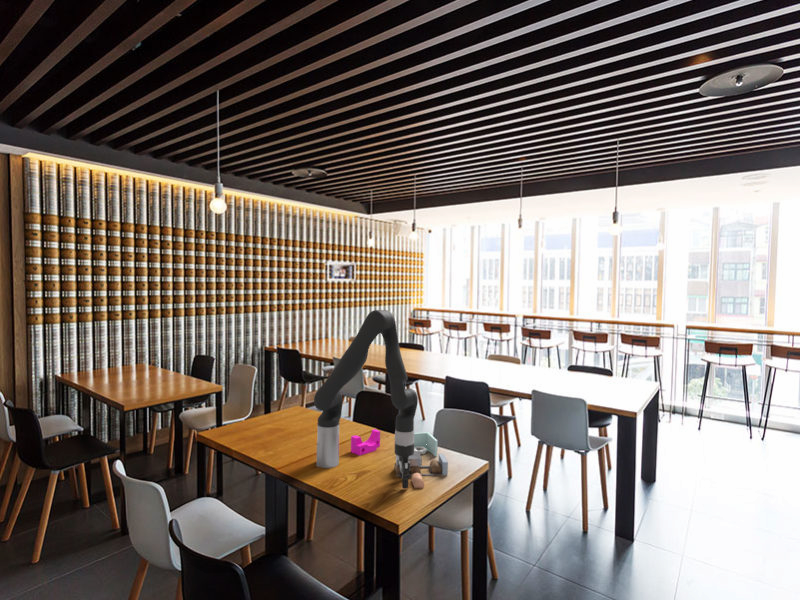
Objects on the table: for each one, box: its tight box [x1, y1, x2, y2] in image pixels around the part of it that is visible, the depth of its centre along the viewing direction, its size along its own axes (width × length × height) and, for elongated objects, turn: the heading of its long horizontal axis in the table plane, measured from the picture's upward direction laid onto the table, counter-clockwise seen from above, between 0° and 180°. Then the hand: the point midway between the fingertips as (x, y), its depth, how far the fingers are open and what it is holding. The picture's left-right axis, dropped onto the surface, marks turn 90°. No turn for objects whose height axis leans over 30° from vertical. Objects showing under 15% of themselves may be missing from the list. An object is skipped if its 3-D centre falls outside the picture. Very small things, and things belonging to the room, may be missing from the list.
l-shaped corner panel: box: [414, 431, 439, 457], centre depth 201 cm, size 12×12×8 cm
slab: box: [395, 453, 423, 467], centre depth 179 cm, size 10×6×3 cm, turn 96°
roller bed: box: [394, 459, 443, 477], centre depth 180 cm, size 19×8×4 cm, turn 96°
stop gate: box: [437, 453, 449, 476], centre depth 181 cm, size 2×9×6 cm, turn 6°
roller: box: [411, 473, 425, 489], centre depth 168 cm, size 4×6×4 cm, turn 6°
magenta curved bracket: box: [350, 428, 381, 456], centre depth 204 cm, size 15×6×8 cm, turn 136°
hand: (403, 482), depth 167 cm, fingers open, 8 cm apart
